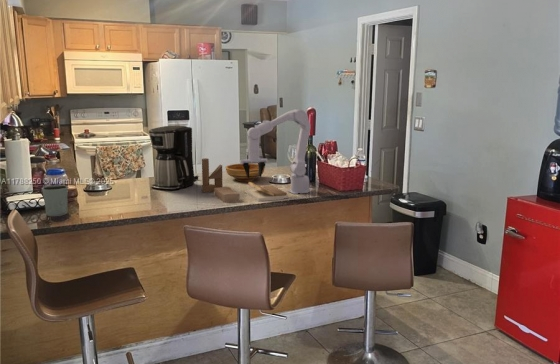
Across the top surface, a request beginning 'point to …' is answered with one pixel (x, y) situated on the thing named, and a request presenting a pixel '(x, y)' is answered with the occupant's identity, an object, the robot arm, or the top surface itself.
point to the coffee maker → (173, 157)
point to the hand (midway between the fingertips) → (254, 176)
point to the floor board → (264, 196)
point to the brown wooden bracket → (210, 177)
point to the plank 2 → (264, 190)
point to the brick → (226, 194)
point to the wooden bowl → (243, 172)
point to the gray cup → (55, 200)
